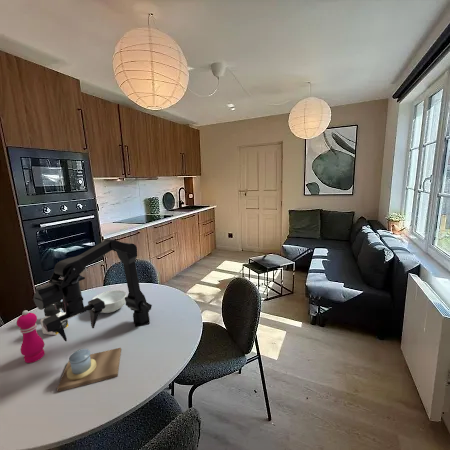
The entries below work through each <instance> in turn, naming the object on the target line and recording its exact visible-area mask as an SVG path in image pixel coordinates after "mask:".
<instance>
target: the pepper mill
mask: <svg viewBox="0 0 450 450" xmlns="http://www.w3.org/2000/svg"><path fill="white" fill-rule="evenodd" d="M37 320H38V316H37V315H36V313H34V312H29V311H28V310H23V311H22V314H21V315H19V317H18V318H17V319H16V325H17V327H18V328H19V330H20V333H21V334H22V343H21V345H20V353H21V355H22V356H23V359H24V362H25V363H26V364H32V363H35V362H37V361H39V360H41V359H42V358H44V356H45V354H46V353H45V349H44V347H45V341H44V340H43V338H42V337H41V336H40V334H38V331H37V327H38V325H37V324H38V323H37Z"/></svg>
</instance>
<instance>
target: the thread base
mask: <svg viewBox="0 0 450 450" xmlns="http://www.w3.org/2000/svg"><path fill="white" fill-rule="evenodd" d="M121 353H122V348H121V347H118V348H113V349H108V350H105V351H99V352H96V353H90V359H91V367H90V368H89V369H88V370H87V371H86V372H84V373H81V374H73V373H72V370H71V364H70V362H69V360H68V362H67V364H66V367H65V368H64V371H63V374H62V376H61V378H60V381H59V384H58V385H57V387H56V391H57V392H62V391H67V390H70V389H75V388H78V387H81V386H85V385H89V384H94V383H97V382H101V381H105V380H108V379H113V378H117V377H118V376H119V370H120V369H119V368H120V363H121V362H120V361H121V355H122V354H121Z"/></svg>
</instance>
